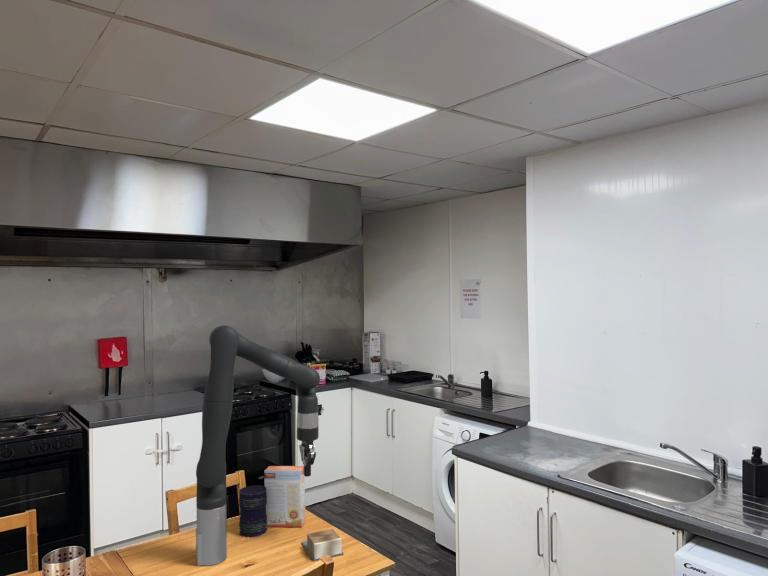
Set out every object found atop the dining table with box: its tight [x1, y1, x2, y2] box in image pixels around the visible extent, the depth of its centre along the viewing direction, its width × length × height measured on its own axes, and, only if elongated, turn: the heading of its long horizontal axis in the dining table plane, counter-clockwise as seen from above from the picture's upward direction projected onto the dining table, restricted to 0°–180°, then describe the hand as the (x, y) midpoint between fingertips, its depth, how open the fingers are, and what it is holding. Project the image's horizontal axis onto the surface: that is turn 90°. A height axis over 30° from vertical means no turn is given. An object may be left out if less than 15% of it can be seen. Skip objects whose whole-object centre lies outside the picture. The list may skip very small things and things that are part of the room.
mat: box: [301, 540, 344, 562], centre depth 173 cm, size 10×14×1 cm
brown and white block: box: [306, 528, 343, 559], centre depth 171 cm, size 9×4×9 cm
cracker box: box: [263, 465, 306, 528], centre depth 194 cm, size 14×6×21 cm, turn 84°
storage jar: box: [238, 484, 268, 539], centre depth 188 cm, size 10×10×15 cm
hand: (307, 475), depth 180 cm, fingers closed
